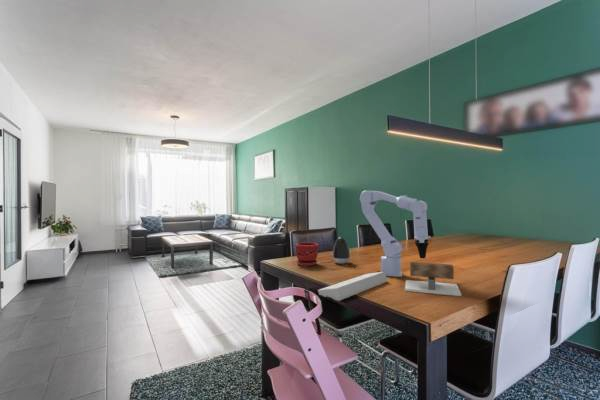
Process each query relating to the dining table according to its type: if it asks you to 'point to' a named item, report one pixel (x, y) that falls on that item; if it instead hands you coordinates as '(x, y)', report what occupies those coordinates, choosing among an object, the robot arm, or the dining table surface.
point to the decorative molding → (353, 286)
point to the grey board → (439, 289)
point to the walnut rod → (432, 270)
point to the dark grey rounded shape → (341, 251)
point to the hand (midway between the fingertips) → (422, 256)
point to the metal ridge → (431, 283)
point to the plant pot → (306, 253)
